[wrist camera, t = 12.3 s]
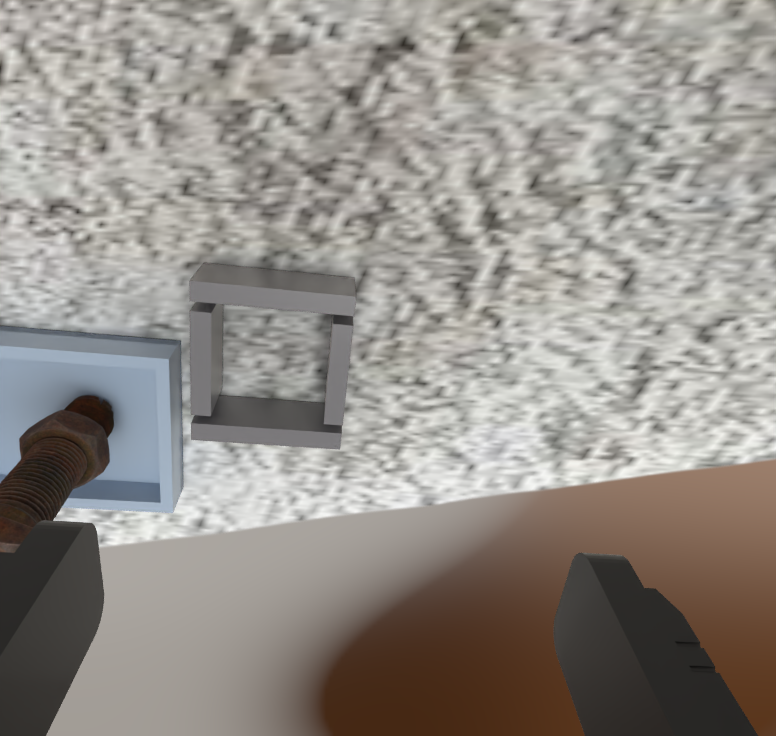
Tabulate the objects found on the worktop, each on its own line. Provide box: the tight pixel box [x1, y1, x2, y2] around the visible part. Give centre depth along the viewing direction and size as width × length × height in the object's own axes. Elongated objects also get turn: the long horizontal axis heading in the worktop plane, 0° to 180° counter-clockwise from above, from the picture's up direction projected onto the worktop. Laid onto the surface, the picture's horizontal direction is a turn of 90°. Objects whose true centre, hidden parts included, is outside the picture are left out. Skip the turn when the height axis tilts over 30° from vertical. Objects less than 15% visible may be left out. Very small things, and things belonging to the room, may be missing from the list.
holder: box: [189, 263, 356, 449], centre depth 38 cm, size 9×10×4 cm
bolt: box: [0, 395, 114, 553], centre depth 33 cm, size 6×5×15 cm
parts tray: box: [0, 326, 183, 513], centre depth 39 cm, size 14×12×3 cm
